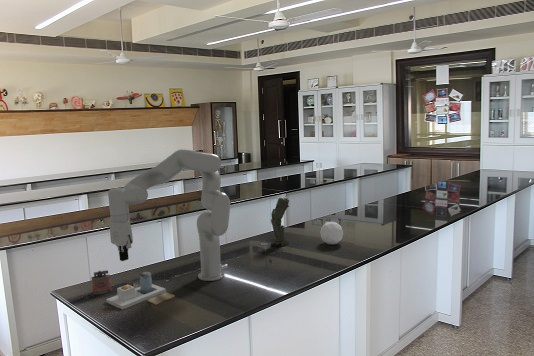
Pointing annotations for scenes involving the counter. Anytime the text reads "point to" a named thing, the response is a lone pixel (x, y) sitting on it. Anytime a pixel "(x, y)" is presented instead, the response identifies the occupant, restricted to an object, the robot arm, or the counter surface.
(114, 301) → the dock
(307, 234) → the counter surface
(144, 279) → the cylinder
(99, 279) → the lighter
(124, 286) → the brown egg
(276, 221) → the mechanical leg
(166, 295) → the pad
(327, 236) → the geodesic sphere
